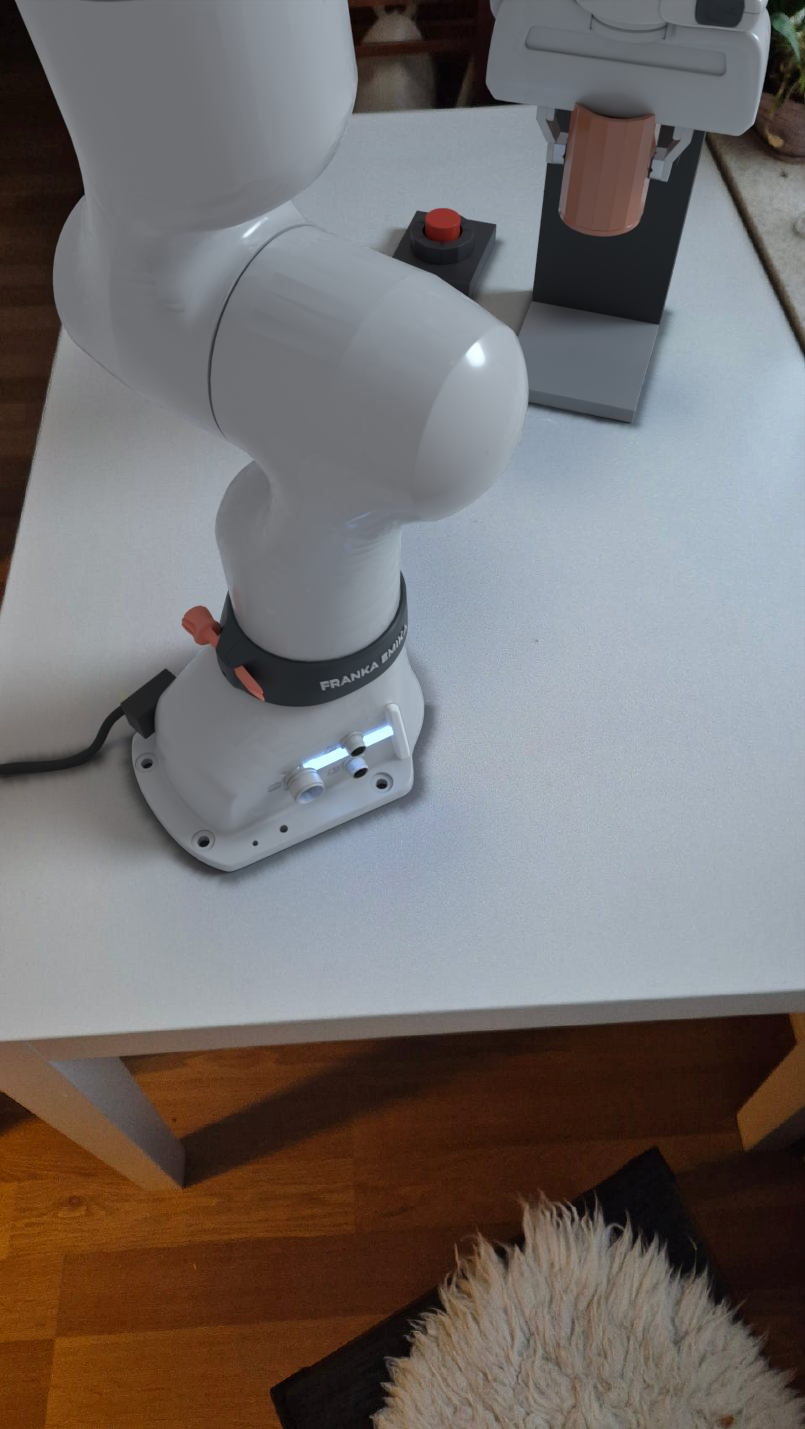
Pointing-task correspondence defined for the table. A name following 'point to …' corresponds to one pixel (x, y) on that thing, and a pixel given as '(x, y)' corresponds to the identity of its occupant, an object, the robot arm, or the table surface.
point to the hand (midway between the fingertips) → (608, 168)
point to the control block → (449, 252)
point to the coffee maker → (603, 294)
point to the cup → (606, 171)
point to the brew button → (442, 225)
